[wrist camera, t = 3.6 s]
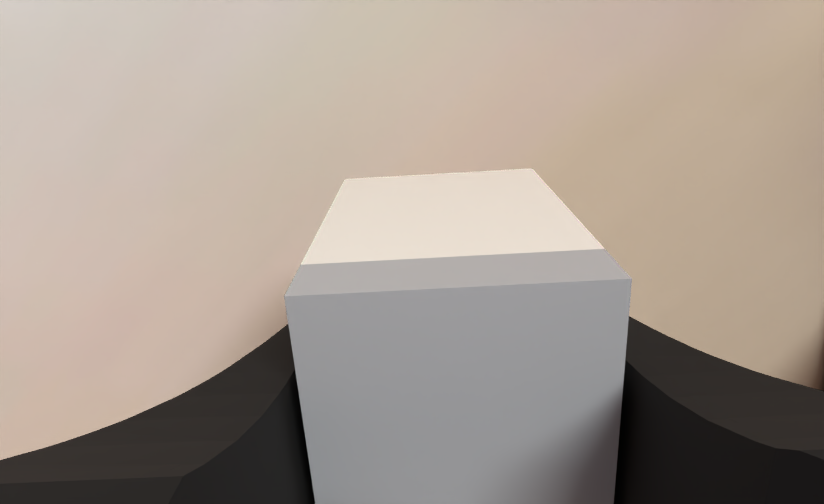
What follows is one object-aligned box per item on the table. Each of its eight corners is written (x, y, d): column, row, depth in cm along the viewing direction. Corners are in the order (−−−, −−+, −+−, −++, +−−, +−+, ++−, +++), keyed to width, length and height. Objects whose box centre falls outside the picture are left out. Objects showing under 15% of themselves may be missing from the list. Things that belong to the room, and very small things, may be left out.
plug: (532, 168, 12) (631, 279, 7) (528, 406, 14) (601, 645, 9) (345, 178, 12) (284, 296, 7) (368, 413, 14) (337, 653, 9)
